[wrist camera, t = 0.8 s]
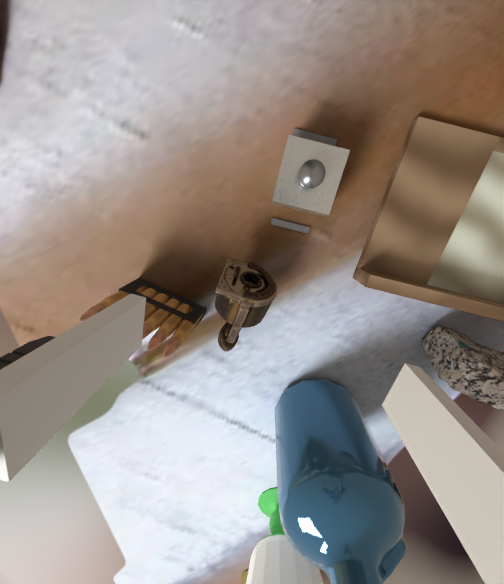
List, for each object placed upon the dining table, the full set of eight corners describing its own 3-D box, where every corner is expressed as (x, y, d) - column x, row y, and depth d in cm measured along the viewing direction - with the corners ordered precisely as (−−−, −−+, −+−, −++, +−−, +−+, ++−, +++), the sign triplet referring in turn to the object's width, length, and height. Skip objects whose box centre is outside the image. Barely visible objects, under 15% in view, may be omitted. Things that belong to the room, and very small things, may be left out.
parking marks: (294, 129, 27) (294, 128, 27) (336, 139, 27) (337, 139, 27) (270, 224, 30) (270, 224, 30) (307, 233, 30) (308, 233, 30)
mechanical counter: (277, 255, 31) (281, 272, 22) (269, 340, 35) (269, 385, 26) (224, 251, 32) (206, 266, 22) (222, 335, 36) (205, 378, 26)
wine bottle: (258, 411, 40) (231, 906, 11) (311, 359, 36) (476, 904, 7) (318, 452, 42) (428, 967, 13) (375, 407, 38) (703, 990, 9)
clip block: (284, 151, 28) (289, 128, 21) (333, 163, 28) (355, 145, 21) (271, 204, 30) (272, 199, 23) (317, 215, 30) (332, 214, 23)
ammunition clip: (206, 308, 35) (176, 353, 23) (202, 318, 35) (170, 367, 24) (138, 277, 34) (72, 308, 22) (135, 288, 34) (69, 324, 23)
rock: (437, 386, 27) (467, 362, 25) (417, 339, 34) (439, 317, 32) (554, 439, 25) (598, 419, 23) (507, 378, 33) (537, 358, 30)
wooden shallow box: (413, 120, 26) (445, 98, 21) (608, 169, 26) (684, 159, 21) (352, 277, 32) (367, 288, 27) (512, 317, 32) (555, 334, 27)
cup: (274, 467, 43) (277, 600, 28) (331, 501, 45) (362, 643, 30) (233, 504, 47) (216, 639, 32) (287, 534, 49) (295, 675, 34)
